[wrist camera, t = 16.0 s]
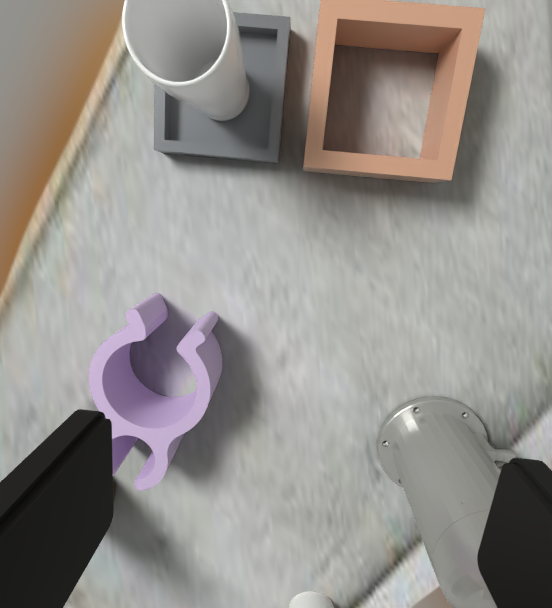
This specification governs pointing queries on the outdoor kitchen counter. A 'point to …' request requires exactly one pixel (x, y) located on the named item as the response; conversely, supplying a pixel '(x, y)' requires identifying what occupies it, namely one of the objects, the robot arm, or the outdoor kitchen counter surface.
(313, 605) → the foam cup
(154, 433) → the clip
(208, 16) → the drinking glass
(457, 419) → the robot arm
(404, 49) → the terracotta holder
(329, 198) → the outdoor kitchen counter surface
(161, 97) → the charcoal tray
